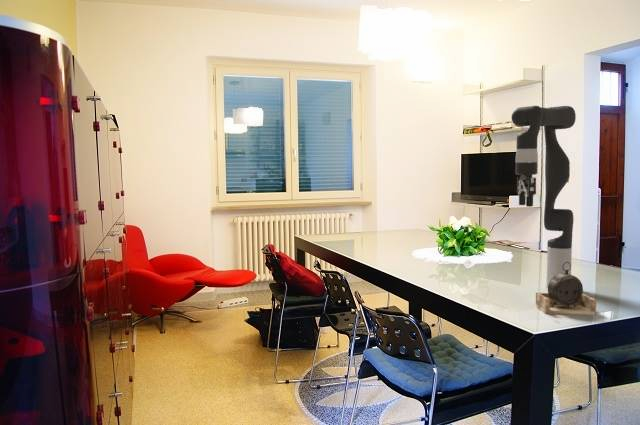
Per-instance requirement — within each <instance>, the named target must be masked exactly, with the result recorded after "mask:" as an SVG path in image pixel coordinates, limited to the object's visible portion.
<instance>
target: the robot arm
mask: <svg viewBox="0 0 640 425" xmlns="http://www.w3.org/2000/svg"><path fill="white" fill-rule="evenodd" d="M576 115H577V114H576V110H575V109H574V107H572V106H570V105H560V106H551V107H549V106H548V107H541V106H539V105H531V106H528V105H527V106H521V107H517V108H515V109H514V110H513V111H512V114H511V121H512V123H513V125H515V126H516V127H518V128H519V127H528V129H527V130H526V131H524V132H521V133H519V134H517V135H516V151H515V152H516V153H515V171H514V174H515V175H519V177H516V180H517V182H516V194H517V195H518V205H519V206H526V207H533V206H534V196H535V195H537V177H533V175H537V174H538V173H539V171H538V168H539V167H538V165H539V164H538V162H539V154H538V137H539V133H540V129H541V127H543V128H544V129H543V131H544V144H545V154H544V155H545V158H544V159H545V161H544V163H545V164H544V177H545V179H544V180H545V183H544V184H545V185H544V186H545V187H544V188H545V196H544V197H545V198H544V212H543V225H544V228H545V230H546V231H552V232H561V235H559V236H558V237H556V238H550V239H548V240H547V247H546V248H547V251H546V252H547V253H546V254H547V255H546V256H547V257H546V288H547V289H548V285H549V282H550V280H551V279H552V278H553V277H554V276H555V275H557V274H559V273H565V272H566V271H564V270H569V269H570V264H571V265H572V259H573V258H572V255H573V254H572V250H573V248H572V246H573V232H574V231H573V229H574V228H573V227H574V212H573V211H572V210H571V209H569V208H567V209H565V208H555V204H556V200H557V198H558V196H559V194H560V192H562V190H563V188H564V187H565V186H566V184H567V183H568V181H569V180H570V175H571V174H570V171H571V170H570V168H571V167H570V166H571V163H570V159H569V156H567V154H566V152H565V150H564V149H563V148H562V146H561V145H560V144H559V141H558V138H557V135H556V134H557V133H556V130H567V129H570V128H573V126H574V124H575V123H576V118H577V116H576ZM565 262H569V263H570V264H569V263H565ZM564 263H565V264H564ZM563 264H564V266H563ZM562 266H563V267H562ZM563 268H564V270H563ZM568 274H570V275H572V268H571V269H570V270H569V271H568Z"/></svg>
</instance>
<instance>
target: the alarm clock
mask: <svg viewBox="0 0 640 425" xmlns="http://www.w3.org/2000/svg"><path fill="white" fill-rule="evenodd" d="M565 263H569V262H565ZM565 263H564V264H565ZM564 264H563V266H564ZM569 264H570V263H569ZM563 266H562V267H563ZM570 269H571V270H572V263H571V264H570ZM570 269H569V270H570ZM563 270H564V268H563ZM569 270H564V271H566V272H565V273H559V274H557V275H555V276H554V277H553V278H552V279H551V280H550V282H549V285H548V288H547V293H548V294H549V296H550V298H551V299H552V300H553V301H554V303H553V305H552V306H551V307H553V306H554V305H555V304H556V303H559V304H561V305H564V306H568V309H570V305H574V307H576V305H575V303H576V302H578V301H579V299H580V298H581V296H582V293H584V288H583V282H581V280H580V279H579V278H578V277H577V276H575V275H573V274H571V275H570V274H568V271H569Z"/></svg>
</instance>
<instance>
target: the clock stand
mask: <svg viewBox="0 0 640 425" xmlns="http://www.w3.org/2000/svg"><path fill="white" fill-rule="evenodd" d="M553 303H554V301H553V300H552V299H551V298H550V296H549V294H548V292H536V293H535V308H537V309H539V310H540V311H542V313H544V314H545V315H590V316H591V315H592V316H593V315H596V314H597V299H595V298H593V297H591V296H589V295H588V294H585V293H584V292H583V293H582V296H581V298H580V299H579V301H578V302H576V303H575V305H576V307H574V305H570V309H568V306H564V305H561V304H559V303H556V304H555V305H554V306H553V307H551V306H552V305H553Z"/></svg>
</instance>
